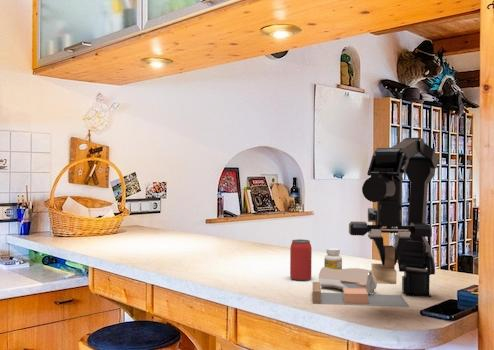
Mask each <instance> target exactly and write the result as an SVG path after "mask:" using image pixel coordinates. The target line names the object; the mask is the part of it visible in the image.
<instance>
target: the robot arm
mask: <svg viewBox="0 0 494 350" xmlns="http://www.w3.org/2000/svg"><path fill="white" fill-rule="evenodd" d="M438 161H439V160H438V156H437V154H436V151H435V149H434V148H433V147H432V146H431V145H429V144H427V143H426V142H425V140H424V138H423V137H422V138H421V137H405V138H403V139H402V141H400V142H398V143H396V144H395V145H392V146H391V147H377V148H376V149H375V151H374V152H373V153H372V155H371V160H370V164H369V166H368V170H367V176H368V178H366V180H365V181H364V182H363V185H362V186H361V192H362V195H363V197H364V198H365V200H367V201H369V202H372V203H376V208H373V207H372V208H371V207H368V208H367V222H366V221H353V220H352V221H350V222H349V224H348V234H349V235H350V236H363V237H364V236H365V235H366V234H367V238H369V240H373V241H374V243H375V247H376V248H377V251H378V255H379V259H380V261H381V264H382V265H384V263H385V255H384V246H385V245H384V244H385V243H384V237H383V236H382V234H384V233H386V234H390V233H391V234H394V245H393V247H395V266H396V264H397V263H398V264H397V265H398V272H401V273H402V272H403V275H402V277H401V291H402V292H403V294H404V295H405V296H406V297H418V298H419V297H422V298H425V297H427V298H431V297H432V294H431V293H430V280H431V279H430V276H431V275H436V263H435V261H434V257H433V253H432V252H431V245H430V244H429V242H428V240H427V238H431V237H433V234H432V233H433V230H432V226H431V225H430V224H428V223H426V222H427V206H428V205H427V204H428V192H429V189H428V187H429V184H430V182H431V180H432V179H433V178H434V177H435V174H436V169H437V167H438ZM404 174H406V176H407V178H408V180H409V182H410V186H409V187H410V188H409V204H408V220H407V225H402V222H403V221H402V220H403V219H402V218H403V217H402V214H403V212H402V211H403V209H402V208H403V204H402V203H403V180H404V177H403V175H404ZM369 176H370V177H369ZM368 223H374V224H368Z"/></svg>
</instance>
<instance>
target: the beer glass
mask: <svg viewBox="0 0 494 350" xmlns="http://www.w3.org/2000/svg"><path fill="white" fill-rule="evenodd" d="M371 275H372V269H371V270H370V269H366V268H360V267H359V268H356V267H353V268H352V267H349V268H342V269H331V268H328V267H324V266H323V267H321V269H320V270H319V273H318V282H320V288H322V289H330V288H332V289H338V290H341V291H343V288H359V289H366V290H367V292H368V295H372V294H375V292H376V290H377V286H378V284H376V282H375V281H374V279H373V277H372V276H371Z"/></svg>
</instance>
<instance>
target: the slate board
mask: <svg viewBox="0 0 494 350" xmlns="http://www.w3.org/2000/svg"><path fill="white" fill-rule="evenodd" d="M321 288H322V287H321V286H320V282H319V281H312V304H314V305H335V306H336V305H338V306H339V305H340V306H368V307H369V306H371V307H395V308H396V307H399V308H410V305H409V304H408V303H407V301H406V299H405V298H404V297H403V295H401V294H375V293H374V294H372V295H368V304H355V303H344V300H343V292H341V293H340V292H322V289H321Z"/></svg>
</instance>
